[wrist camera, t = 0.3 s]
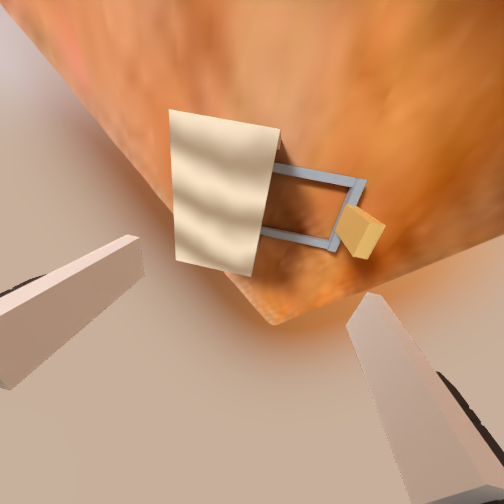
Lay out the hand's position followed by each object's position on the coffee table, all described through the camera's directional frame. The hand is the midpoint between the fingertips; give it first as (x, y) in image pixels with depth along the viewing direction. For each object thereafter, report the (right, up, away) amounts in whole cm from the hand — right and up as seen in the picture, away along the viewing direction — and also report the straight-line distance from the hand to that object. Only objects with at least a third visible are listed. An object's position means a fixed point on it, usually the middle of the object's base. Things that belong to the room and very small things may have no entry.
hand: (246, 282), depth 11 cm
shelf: (-2, +13, +25) cm, 28 cm away
